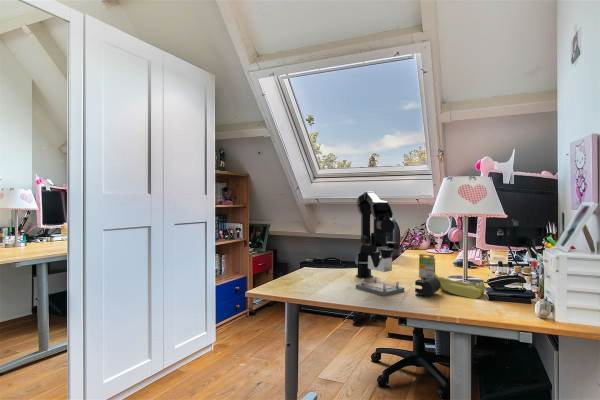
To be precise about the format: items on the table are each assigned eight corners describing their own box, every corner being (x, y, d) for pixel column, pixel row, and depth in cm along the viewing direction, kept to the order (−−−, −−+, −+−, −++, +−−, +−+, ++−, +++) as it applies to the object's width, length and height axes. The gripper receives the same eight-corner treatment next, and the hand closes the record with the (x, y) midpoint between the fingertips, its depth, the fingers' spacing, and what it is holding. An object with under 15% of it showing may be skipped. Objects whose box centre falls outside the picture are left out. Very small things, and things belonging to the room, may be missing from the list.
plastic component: (485, 287, 154) (483, 281, 146) (482, 305, 151) (479, 299, 144) (437, 278, 165) (432, 271, 158) (434, 293, 163) (428, 288, 155)
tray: (375, 284, 168) (375, 275, 168) (404, 291, 155) (404, 282, 155) (355, 288, 160) (355, 279, 160) (384, 296, 148) (384, 286, 148)
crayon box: (435, 277, 183) (435, 254, 183) (433, 278, 180) (434, 255, 180) (420, 275, 187) (420, 253, 187) (418, 277, 184) (419, 254, 184)
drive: (375, 267, 163) (375, 254, 163) (391, 270, 156) (392, 257, 156) (368, 268, 160) (368, 255, 160) (384, 272, 153) (384, 258, 153)
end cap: (431, 299, 144) (432, 282, 144) (414, 295, 149) (414, 279, 149) (440, 294, 152) (441, 277, 152) (424, 291, 156) (424, 275, 156)
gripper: (380, 228, 170) (379, 261, 170) (351, 230, 159) (351, 266, 159) (399, 230, 161) (399, 265, 161) (370, 232, 150) (370, 270, 150)
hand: (379, 266), depth 158 cm, fingers closed on drive, 5 cm apart
